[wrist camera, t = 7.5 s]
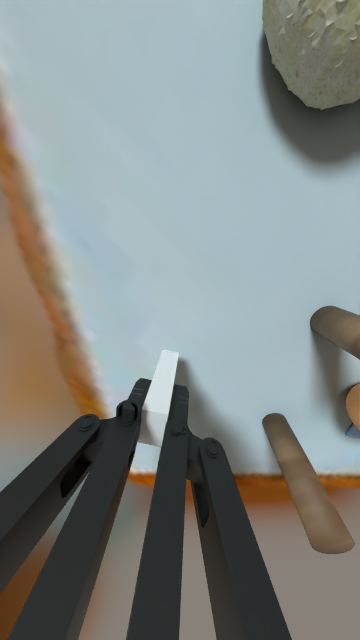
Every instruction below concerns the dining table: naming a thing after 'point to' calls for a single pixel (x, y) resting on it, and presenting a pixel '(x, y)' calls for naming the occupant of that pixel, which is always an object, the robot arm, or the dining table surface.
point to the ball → (354, 405)
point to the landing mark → (353, 431)
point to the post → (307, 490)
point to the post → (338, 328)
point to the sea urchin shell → (316, 48)
